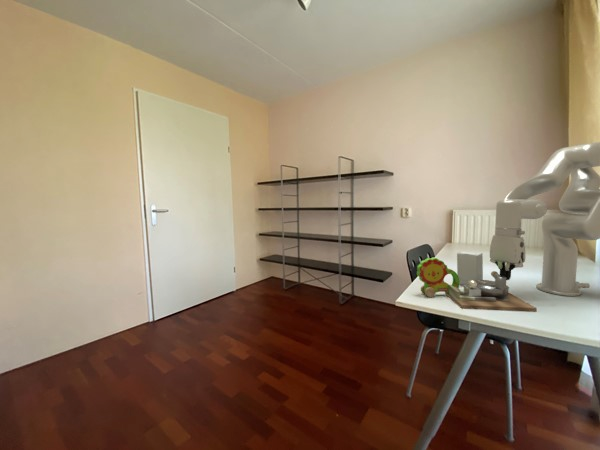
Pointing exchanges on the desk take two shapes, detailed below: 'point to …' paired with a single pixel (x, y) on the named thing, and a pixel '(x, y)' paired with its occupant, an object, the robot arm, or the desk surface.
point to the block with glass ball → (472, 289)
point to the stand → (489, 301)
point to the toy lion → (435, 276)
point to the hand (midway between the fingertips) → (504, 279)
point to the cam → (494, 286)
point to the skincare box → (469, 267)
